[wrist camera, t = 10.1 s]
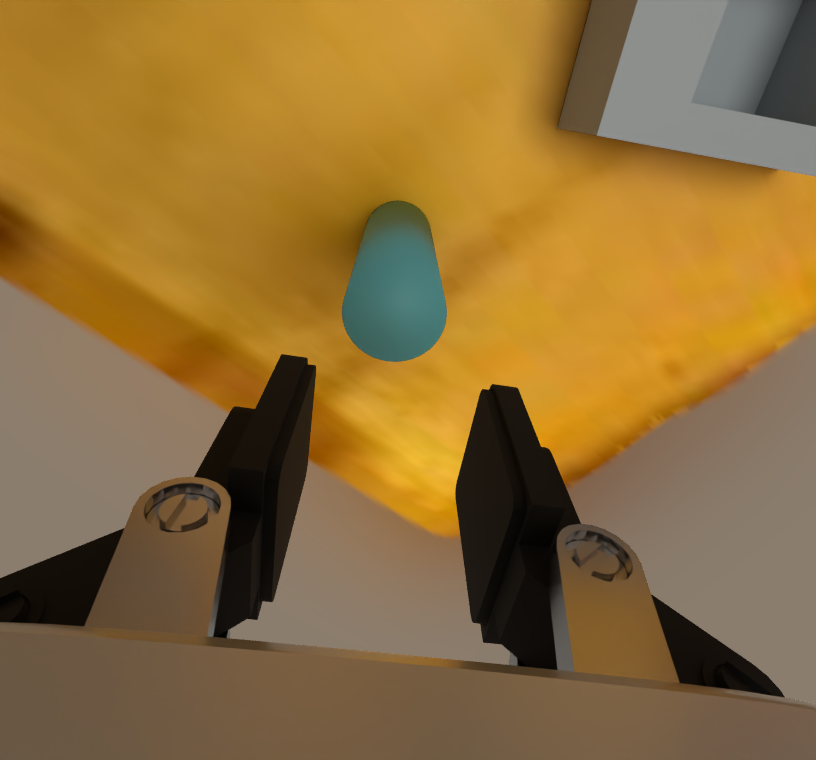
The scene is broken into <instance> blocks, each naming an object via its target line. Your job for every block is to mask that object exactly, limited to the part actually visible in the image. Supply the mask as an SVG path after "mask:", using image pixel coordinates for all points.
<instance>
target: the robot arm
mask: <svg viewBox="0 0 816 760" xmlns="http://www.w3.org/2000/svg"><path fill="white" fill-rule="evenodd" d="M315 377H316V366H315V365H308V359H307V358H305V357H297V356H290V355H283V354H282V355H281V356H280V358H279V361H278V363H277V365H276V367H275V369H274V371H273V373H272V375H271V377H270V379H269V381H268V384H267V386H266V388H265V390H264V392H263V394H262V396H261V398H260V400H259V402H258V404H257V406H256V409H251V408H244V407H233V409H232V410H231V411H230V413H229V415H228V417H227V419H226V420H225V422H224V424H223V426H222V428H221V429H220V431H219V433H218V435H217V437H216V438H215V440H214V442H213V444H212V446H211V447H210V449H209V451H208V453H207V455H206V456H205V458H204V460H203V462H202V464H201V466H200V467H199V469H198V471H197V473H196V475H195V476H194V477H182V478H175V479H171V480H167V481H164V482H161V483H159V484H157V485H155V486H154V487H151V488H150V489H148V490H147V491H146V492H145V493H143V494H142V495H141V496H140V497H139V499H138V500H137V502H136V503H135V505H134V507H133V509H132V512H131V514H130V516H129V519H128V521H127V524H126V526H125V528H123V529H121V530H118V531H116V532H113V533H111V534H109V535H106V536H104V537H101V538H99V539H96V540H94V541H91V542H89V543H86V544H84V545H81V546H79V547H77V548H74V549H71V550H69V551H66V552H64V553H62V554H59V555H56V556H54V557H52V558H49V559H47V560H44V561H42V562H40V563H37V564H34V565H32V566H29V567H27V568H25V569H22V570H19V571H17V572H14V573H12V574H9V575H7V576H5V577H2V578H0V760H816V704H812V703H808V702H804V701H799V700H795V699H790V698H785V697H784V695H783V694H782V692H781V691H780V689H779V688H778V687H777V686H776V685H775V684H774V683H773V682H772V681H771V680H770V679H769V677H768V676H767V675H765V674H764V673H763V672H762V671H760V670H759V669H758V668H757V667H756V666H754V665H753V664H752V663H750V662H749V661H747V660H746V659H744V658H743V657H742V656H740V655H738V654H737V653H736V652H734V651H733V650H731V649H730V648H728V647H727V646H726V645H724V644H723V643H721V642H720V641H718V640H717V639H715V638H714V637H712V636H711V635H710V634H708V633H707V632H705V631H704V630H702V629H701V628H699V627H698V626H696V625H695V624H694V623H692V622H690V621H689V620H688V619H686V618H685V617H683V616H682V615H680V614H679V613H677V612H676V611H675V610H673V609H672V608H670V607H669V606H667V605H666V604H664V603H663V602H662V601H660V600H658V599H657V598H656V597H654V596H653V595H651V593H650V590H649V587H648V584H647V581H646V578H645V574H644V571H643V568H642V565H641V563H640V561H639V559H638V557H637V555H636V554H635V552H634V551H633V550H632V549H631V548H630V547H629V545H627V544H626V543H625V542H624V541H623V540H621V539H620V538H619V537H617V536H616V535H614V534H612V533H610V532H608V531H606V530H605V529H602V528H599V527H595V526H593V525H586V524H581V523H580V521H579V518H578V516H577V513H576V511H575V509H574V506H573V504H572V501H571V499H570V496H569V494H568V492H567V489H566V487H565V484H564V482H563V480H562V477H561V475H560V472H559V470H558V468H557V465H556V463H555V460H554V458H553V456H552V453H551V452H550V450H549V449H548V448H545V447H541V446H540V443H539V441H538V438H537V436H536V433H535V431H534V428H533V425H532V423H531V420H530V418H529V415H528V413H527V410H526V408H525V405H524V403H523V400H522V398H521V395H520V392H519V390H518V388H516V387H509V386H502V385H495V384H492V385H491V387H490V389H489V390H485V389H482V391H481V393H480V396H479V400H478V404H477V407H476V411H475V415H474V419H473V423H472V426H471V430H470V434H469V438H468V442H467V445H466V449H465V453H464V457H463V461H462V464H461V468H460V472H459V476H458V480H457V484H456V505H457V512H458V520H459V528H460V536H461V543H462V551H463V559H464V566H465V574H466V582H467V590H468V596H469V605H470V613H471V618H472V622H473V623H480V624H481V631H482V638H483V642H484V643H494V644H502V645H503V646H504V647H505V648H507V649H508V650H509V651H510V658H509V665H502V664H492V663H482V662H471V661H461V660H452V659H451V660H450V659H441V658H430V657H421V656H411V655H400V654H390V653H379V652H368V651H358V650H348V649H338V648H327V647H317V646H306V645H294V644H284V643H273V642H272V643H271V642H261V641H250V640H239V639H230V629H231V628H232V627H234V626H236V625H237V624H239V623H241V622H242V621H244V620H246V619H254V620H257V619H258V616H259V612H260V608H261V605H262V601H266V602H267V601H268V602H273V600H274V596H275V593H276V589H277V585H278V581H279V578H280V573H281V569H282V566H283V562H284V558H285V554H286V551H287V547H288V543H289V539H290V535H291V531H292V527H293V524H294V520H295V516H296V512H297V508H298V504H299V501H300V497H301V493H302V489H303V485H304V481H305V477H306V472H307V465H308V454H309V443H310V432H311V421H312V410H313V399H314V388H315Z"/></svg>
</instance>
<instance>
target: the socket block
mask: <svg viewBox="0 0 816 760" xmlns="http://www.w3.org/2000/svg"><path fill="white" fill-rule="evenodd" d="M558 128H559V129H564V130H569V131H575V132H580V133H585V134H591V135H596V136H601V137H607V138H612V139H618V140H623V141H628V142H634V143H639V144H644V145H650V146H655V147H661V148H666V149H671V150H677V151H682V152H687V153H693V154H698V155H703V156H709V157H714V158H720V159H725V160H730V161H736V162H741V163H746V164H752V165H757V166H763V167H768V168H773V169H779V170H784V171H789V172H795V173H800V174H805V175H811V176H816V0H592V2H591V6H590V10H589V13H588V17H587V21H586V24H585V28H584V32H583V35H582V39H581V43H580V47H579V50H578V54H577V58H576V61H575V65H574V69H573V73H572V76H571V80H570V84H569V87H568V91H567V95H566V99H565V102H564V106H563V110H562V113H561V117H560V121H559V124H558Z"/></svg>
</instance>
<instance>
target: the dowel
mask: <svg viewBox="0 0 816 760" xmlns="http://www.w3.org/2000/svg"><path fill="white" fill-rule="evenodd" d="M342 317H343V323H344V326H345V329H346V332H347V334H348V335H349V337H350V339H351V340H352V341H353V343H354V344H355V345H356V346H357V347H358V348H359V349H361V350H362V351H363V352H365V353H366V354H368V355H370V356H372V357H374V358H377V359H380V360H384V361H392V362H397V361H406V360H410V359H413V358H416V357H418V356H420V355H422V354H424V353H425V352H426V351H428V350H429V349H430V348H431V347H432V346H433V345H434V344H435V343H436V342H437V341H438V339H439V338H440V336H441V334H442V332H443V330H444V327H445V323H446V317H447V309H446V302H445V297H444V292H443V288H442V283H441V278H440V273H439V268H438V263H437V258H436V253H435V248H434V243H433V238H432V233H431V229H430V225H429V222H428V220H427V218H426V216H425V215H424V213H423V212H422V211H421V210H420V209H419V208H417V207H416V206H414V205H413V204H411V203H408V202H404V201H392V202H388V203H385V204H383V205H381V206H380V207H378V208H377V209H376V210H375V211H374V212H373V213H372V214H371V216H370V217H369V219H368V222H367V225H366V228H365V231H364V234H363V238H362V241H361V244H360V248H359V251H358V254H357V258H356V261H355V264H354V268H353V271H352V274H351V278H350V281H349V284H348V288H347V291H346V294H345V297H344V301H343V306H342Z"/></svg>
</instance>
